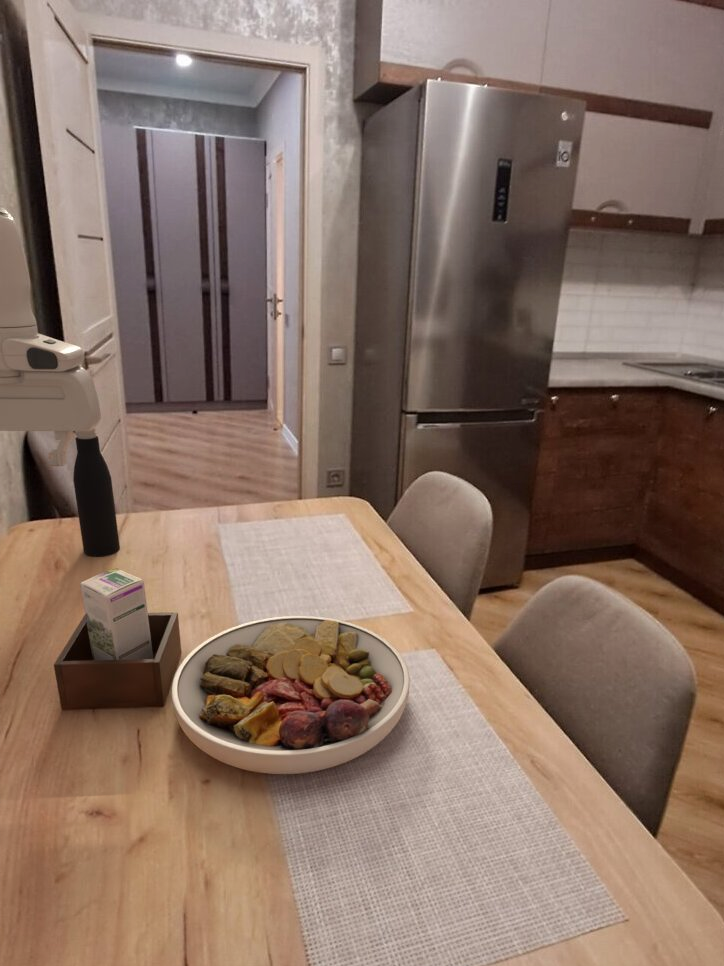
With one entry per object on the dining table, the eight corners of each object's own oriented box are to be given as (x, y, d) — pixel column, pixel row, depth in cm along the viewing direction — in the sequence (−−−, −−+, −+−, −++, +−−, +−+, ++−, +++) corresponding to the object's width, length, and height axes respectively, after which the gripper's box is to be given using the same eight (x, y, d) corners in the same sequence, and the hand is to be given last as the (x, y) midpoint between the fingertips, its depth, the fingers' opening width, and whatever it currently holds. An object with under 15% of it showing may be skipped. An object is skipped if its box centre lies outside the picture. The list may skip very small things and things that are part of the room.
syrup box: (156, 671, 92) (146, 577, 86) (119, 692, 87) (106, 594, 82) (130, 657, 95) (118, 565, 89) (92, 677, 90) (77, 581, 84)
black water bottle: (89, 559, 125) (66, 399, 113) (79, 547, 129) (56, 392, 117) (124, 551, 128) (105, 396, 117) (113, 540, 133) (94, 389, 121)
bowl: (138, 690, 89) (132, 639, 86) (324, 624, 107) (325, 580, 104) (245, 833, 68) (242, 773, 65) (454, 721, 87) (460, 670, 83)
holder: (61, 709, 85) (53, 664, 82) (91, 654, 96) (85, 613, 94) (164, 706, 86) (159, 662, 84) (181, 652, 98) (177, 612, 95)
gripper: (-115, 351, 73) (-86, 472, 79) (80, 356, 76) (96, 472, 81) (-85, 345, 79) (-60, 458, 84) (96, 349, 82) (110, 458, 87)
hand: (18, 465), depth 83 cm, fingers open, 8 cm apart
